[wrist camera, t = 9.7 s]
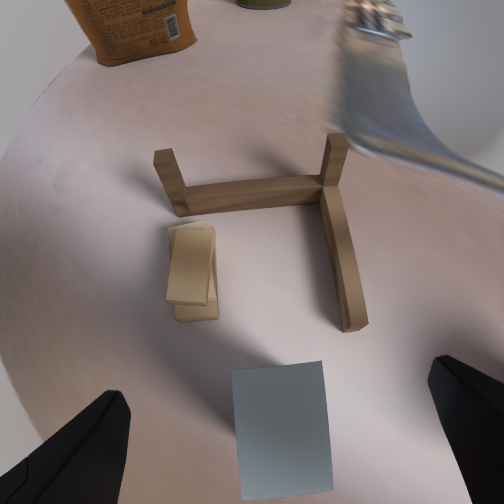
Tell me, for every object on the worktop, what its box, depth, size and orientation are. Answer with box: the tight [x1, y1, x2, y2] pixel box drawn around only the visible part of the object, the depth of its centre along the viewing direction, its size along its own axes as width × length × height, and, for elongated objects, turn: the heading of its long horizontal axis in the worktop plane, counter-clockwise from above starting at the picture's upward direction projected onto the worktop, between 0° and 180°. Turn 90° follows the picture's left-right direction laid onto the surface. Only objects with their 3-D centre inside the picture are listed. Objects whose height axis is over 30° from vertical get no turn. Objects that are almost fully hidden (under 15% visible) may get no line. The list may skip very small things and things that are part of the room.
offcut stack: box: [165, 220, 219, 322], centre depth 23 cm, size 7×4×3 cm, turn 5°
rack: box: [153, 133, 369, 333], centre depth 21 cm, size 12×13×7 cm
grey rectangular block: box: [231, 361, 333, 500], centre depth 14 cm, size 5×3×11 cm, turn 5°
